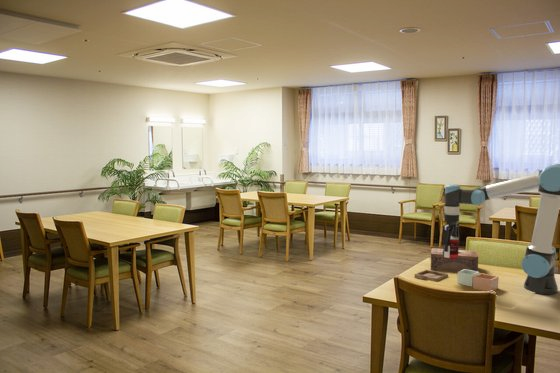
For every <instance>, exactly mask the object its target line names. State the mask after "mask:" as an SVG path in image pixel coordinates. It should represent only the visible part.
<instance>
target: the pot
mask: <svg viewBox="0 0 560 373" xmlns="http://www.w3.org/2000/svg"><path fill="white" fill-rule="evenodd" d="M472 289H474V290H479V291H484V292H487V291H490V290H493V291H492V292H494V291H496V290H498V289H499V276H497V275H492V274H487V273H483V272H482V273H481V272H479V274H478V275H476V276H474V277H473V287H472Z"/></svg>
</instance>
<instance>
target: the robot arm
mask: <svg viewBox="0 0 560 373" xmlns="http://www.w3.org/2000/svg"><path fill="white" fill-rule="evenodd" d="M533 190H538V193H539V194H540V197H539V198H540V199H539V204H538V207H537V208H538V209H537V213H536V217H535V222H534V228H533V233H532V237H531V242H530V244H527V245H526V248H525V253H524V257H523V258H522V261H521V268H522V270H523V272H524V273H525V274H526V275H527V276H526V278H525V281H524V283H523V288H524V289H525V290H527V291H530V292H533V293H535V294H539V295H555V294H558V293H559V292H558V291H559V286H558V284H557V281H556V278H555V276H556V274H555V271H556V256H557V252H556V251H557V249H556V247H554V246H552V244H553V241H554V235H555V230H556V226H557V221H558V217H559V212H560V163H559V164H553V165H552V164H551V165H548V166H546V167H545V168H543V169H541V170H538V171H537V172H536V173H533V174H528V175H525V176H520V177H516V178H513V179H509V180H504V181H501V182H496V183H492V184H489V185H483V186H480V187H479V186H478V187H475V188H472V189H462V188H461V186H460V185H458V184H447V185H446V186H445V189H444V207H443V208H444V210H443V211H444V214H443V220H444V222H446V224H445V225H443V227H442V243H441V244H442V246H443V245H444V257H446V258H450V246H449V243H450V238H451V236H453V237H458V238H459V239H460V223H459V221H460V215H459V214H460V209H461V208H460V204H463V205H473V206H482V205H483V204H485V202H486V201H490V200H493V199H498V198H503V197H506V196H511V195H515V194H520V193H525V192H529V191H533Z"/></svg>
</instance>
